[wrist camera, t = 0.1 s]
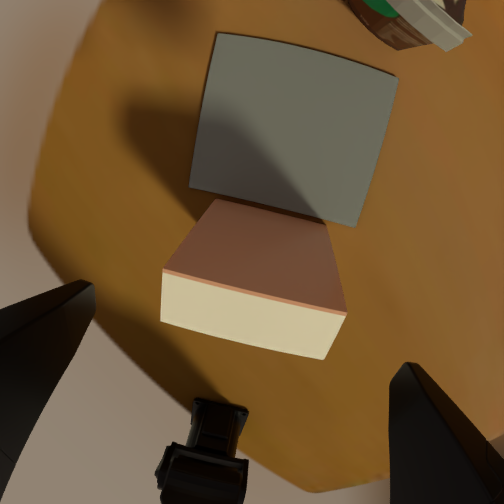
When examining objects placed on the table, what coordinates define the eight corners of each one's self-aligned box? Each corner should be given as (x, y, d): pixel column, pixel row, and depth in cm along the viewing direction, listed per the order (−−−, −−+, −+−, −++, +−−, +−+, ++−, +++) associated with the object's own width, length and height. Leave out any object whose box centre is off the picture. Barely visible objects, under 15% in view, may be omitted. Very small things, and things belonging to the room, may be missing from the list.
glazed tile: (314, 261, 23) (323, 359, 14) (209, 235, 23) (160, 321, 14) (326, 225, 21) (347, 312, 12) (215, 198, 21) (162, 268, 13)
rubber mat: (354, 226, 21) (355, 227, 21) (189, 186, 21) (188, 187, 21) (397, 78, 16) (399, 78, 16) (219, 34, 16) (217, 33, 16)
